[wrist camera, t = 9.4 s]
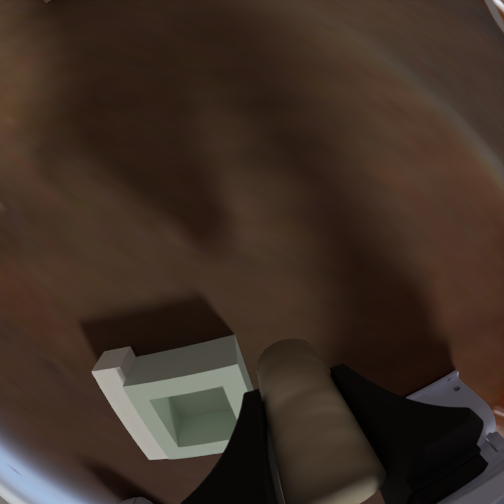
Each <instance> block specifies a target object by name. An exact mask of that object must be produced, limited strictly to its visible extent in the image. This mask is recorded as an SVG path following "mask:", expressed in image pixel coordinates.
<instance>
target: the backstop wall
mask: <svg viewBox="0 0 504 504" xmlns="http://www.w3.org/2000/svg"><path fill="white" fill-rule="evenodd" d="M135 358H136V356H135V354H134V352H133V350H132V348H131V346H129V347H124V348H119V349H114V350H109V351H104V352H103V354H102V356H101V357H100V359H99V360H98V362H97V363H96V365H95V367H94V368H93V370H92V371H91V372H92V374H93V375H94V377H95V379H96V381H97V383H98V384H99V386H100V388H101V389H102V391H103V393H104V394H105V396H106V398H107V399H108V401H109V403H110V404H111V406H112V407H113V409H114V411H115V412H116V414H117V415H118V417H119V418H120V420H121V421H122V423H123V424H124V426H125V427H126V429H127V430H128V432H129V433H130V434H131V436H132V437H133V439H134V440H135V441H136V443H137V444H138V445H139V447H140V448H141V450H142V451H143V452H144V453H145V455H146V456H147V457H148V459H149V460H154V459H167V458H168V457H167V456H166V454H165V453H164V451H163V450H162V449H161V447H160V446H159V444H158V443H157V442H156V440H155V439H154V437H153V436H152V434H151V433H150V431H149V430H148V428H147V427H146V425H145V424H144V422H143V420H142V419H141V417H140V416H139V414H138V412H137V411H136V409H135V408H134V406H133V404H132V403H131V401H130V399H129V398H128V396H127V394H126V392H125V391H124V389H123V387H122V386H123V384H124V382H125V380H126V377H127V375H128V373H129V371H130V368H131V366H132V364H133V362H134V360H135Z"/></svg>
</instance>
